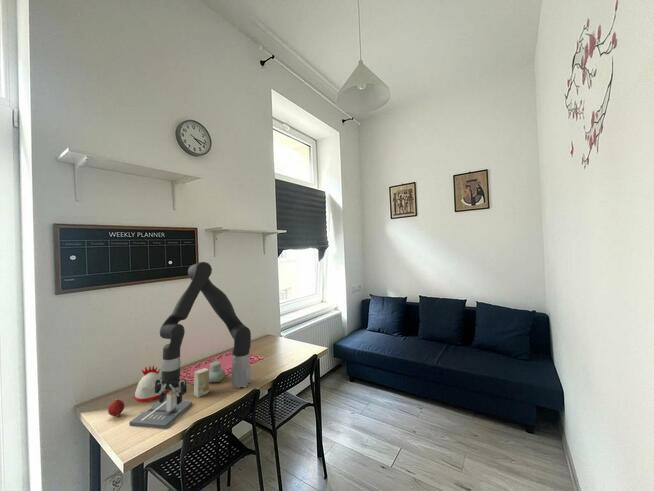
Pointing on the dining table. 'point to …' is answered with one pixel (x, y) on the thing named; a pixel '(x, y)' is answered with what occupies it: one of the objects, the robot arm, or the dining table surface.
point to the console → (159, 415)
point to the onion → (116, 408)
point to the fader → (170, 402)
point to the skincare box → (201, 382)
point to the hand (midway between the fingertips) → (170, 402)
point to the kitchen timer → (148, 385)
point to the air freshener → (216, 372)
